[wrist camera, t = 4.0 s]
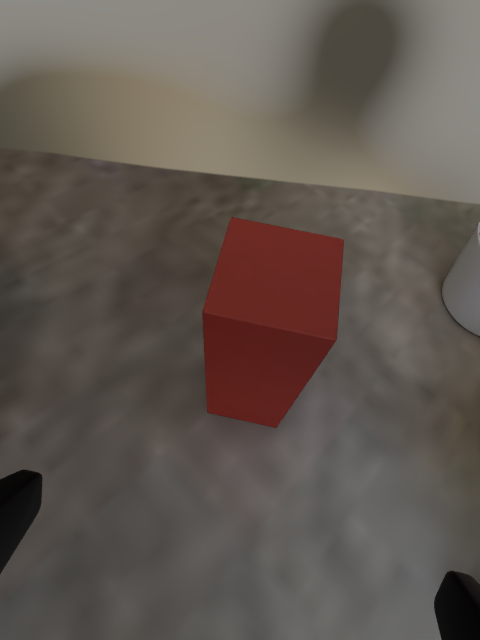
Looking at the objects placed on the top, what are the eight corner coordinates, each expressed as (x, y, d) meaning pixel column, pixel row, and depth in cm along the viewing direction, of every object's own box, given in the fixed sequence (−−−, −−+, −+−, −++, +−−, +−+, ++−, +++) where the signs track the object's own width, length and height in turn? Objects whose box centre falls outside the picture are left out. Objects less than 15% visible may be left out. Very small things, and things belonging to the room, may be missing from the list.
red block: (276, 428, 22) (337, 340, 11) (206, 412, 22) (201, 312, 12) (286, 363, 24) (344, 238, 14) (222, 349, 25) (230, 216, 14)
